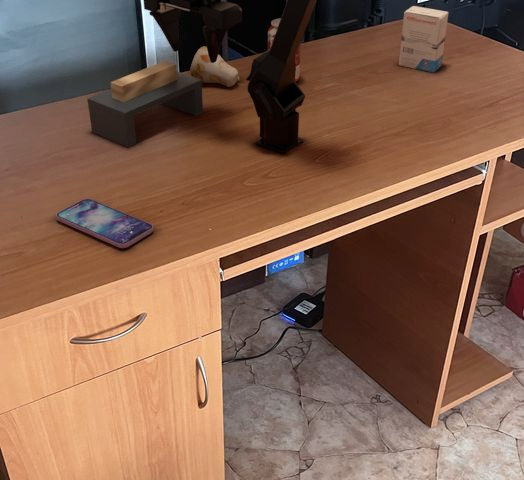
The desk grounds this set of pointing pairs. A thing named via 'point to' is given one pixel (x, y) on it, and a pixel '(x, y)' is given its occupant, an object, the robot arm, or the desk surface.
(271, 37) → the soda can
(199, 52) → the cream rounded tapered piece
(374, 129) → the desk surface
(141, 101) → the small grey bench
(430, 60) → the ink box
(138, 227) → the smartphone
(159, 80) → the stick
